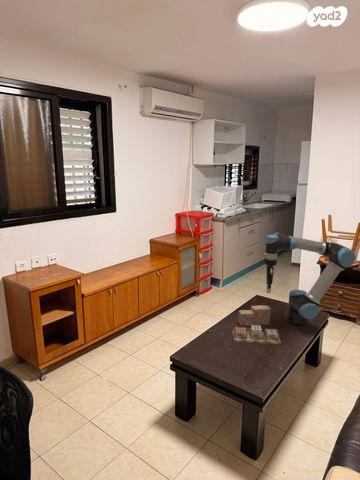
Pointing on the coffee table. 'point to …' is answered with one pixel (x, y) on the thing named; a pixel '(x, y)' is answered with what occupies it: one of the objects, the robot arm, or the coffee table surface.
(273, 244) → the robot arm
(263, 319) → the stack of blocks
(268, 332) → the light grey block
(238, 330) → the tile
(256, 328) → the tile
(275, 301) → the coffee table surface
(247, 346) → the coffee table surface
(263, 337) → the button board
